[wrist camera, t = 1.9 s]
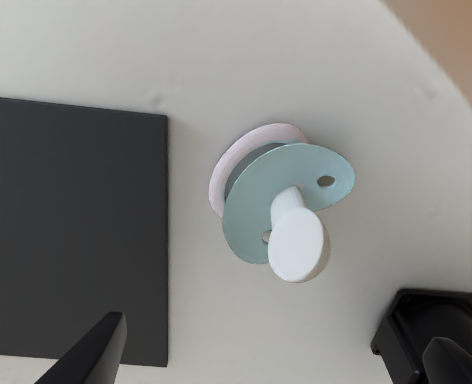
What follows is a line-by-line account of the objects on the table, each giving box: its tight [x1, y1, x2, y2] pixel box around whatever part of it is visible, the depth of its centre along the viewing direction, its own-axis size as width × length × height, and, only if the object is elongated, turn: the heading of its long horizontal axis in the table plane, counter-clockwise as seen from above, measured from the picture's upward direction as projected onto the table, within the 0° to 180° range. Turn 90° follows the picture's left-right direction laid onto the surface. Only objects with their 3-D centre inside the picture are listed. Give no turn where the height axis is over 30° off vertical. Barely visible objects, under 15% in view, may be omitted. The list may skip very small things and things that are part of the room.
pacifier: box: [208, 123, 355, 283], centre depth 14 cm, size 7×6×6 cm
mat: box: [0, 98, 168, 367], centre depth 19 cm, size 15×20×1 cm
